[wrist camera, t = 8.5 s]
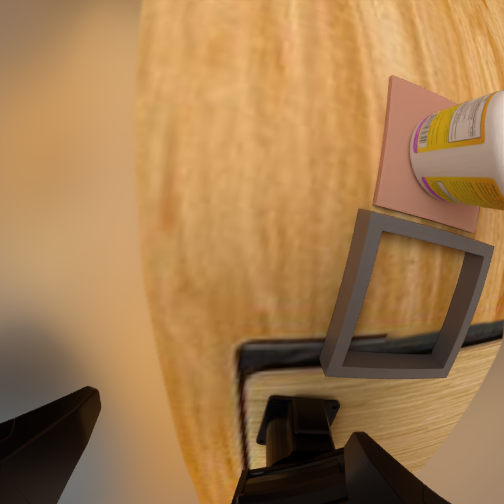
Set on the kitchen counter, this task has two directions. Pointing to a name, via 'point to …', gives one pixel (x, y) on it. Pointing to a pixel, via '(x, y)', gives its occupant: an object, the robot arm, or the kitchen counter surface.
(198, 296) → the kitchen counter surface
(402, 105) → the mat
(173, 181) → the kitchen counter surface
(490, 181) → the supplement bottle
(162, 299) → the kitchen counter surface
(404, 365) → the frame
